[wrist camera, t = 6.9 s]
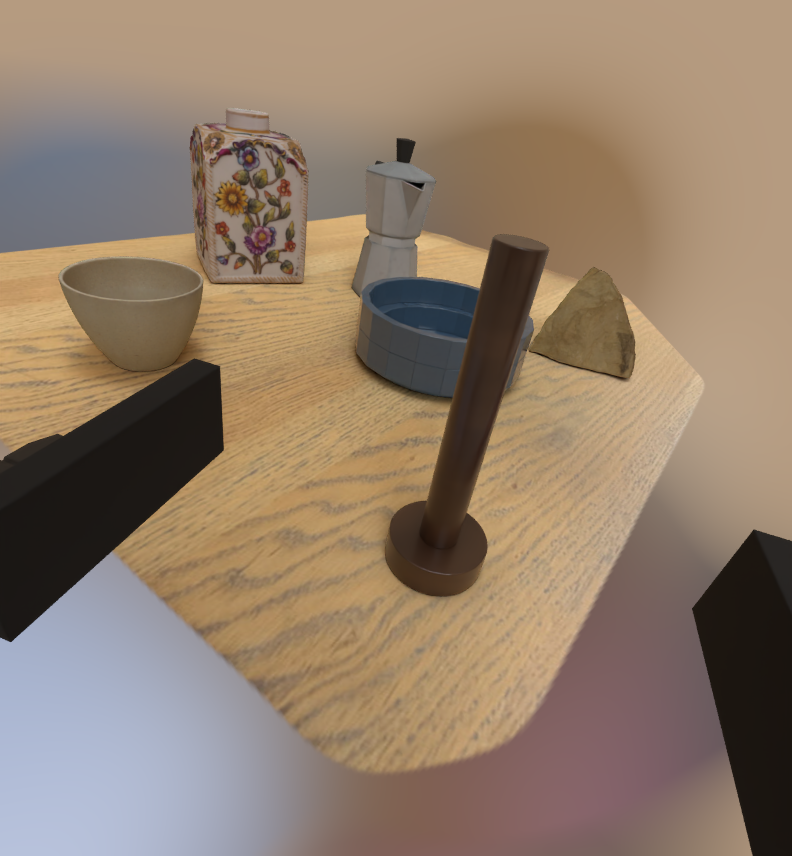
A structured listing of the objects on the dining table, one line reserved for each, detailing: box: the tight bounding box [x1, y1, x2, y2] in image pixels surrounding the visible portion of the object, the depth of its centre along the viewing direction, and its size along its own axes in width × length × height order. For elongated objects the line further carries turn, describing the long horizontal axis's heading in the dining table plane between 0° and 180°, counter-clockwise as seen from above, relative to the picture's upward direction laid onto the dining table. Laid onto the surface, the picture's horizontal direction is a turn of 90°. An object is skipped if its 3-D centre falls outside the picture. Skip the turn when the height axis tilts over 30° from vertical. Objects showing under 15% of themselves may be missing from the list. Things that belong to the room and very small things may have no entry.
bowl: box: [355, 277, 534, 398], centre depth 49 cm, size 17×17×6 cm
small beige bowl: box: [59, 257, 203, 371], centre depth 40 cm, size 10×10×7 cm
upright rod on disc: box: [385, 234, 549, 596], centre depth 24 cm, size 6×6×18 cm
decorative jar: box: [190, 108, 308, 283], centre depth 60 cm, size 12×12×18 cm
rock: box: [529, 267, 636, 378], centre depth 54 cm, size 11×9×10 cm
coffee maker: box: [352, 138, 436, 297], centre depth 62 cm, size 15×9×18 cm, turn 23°
